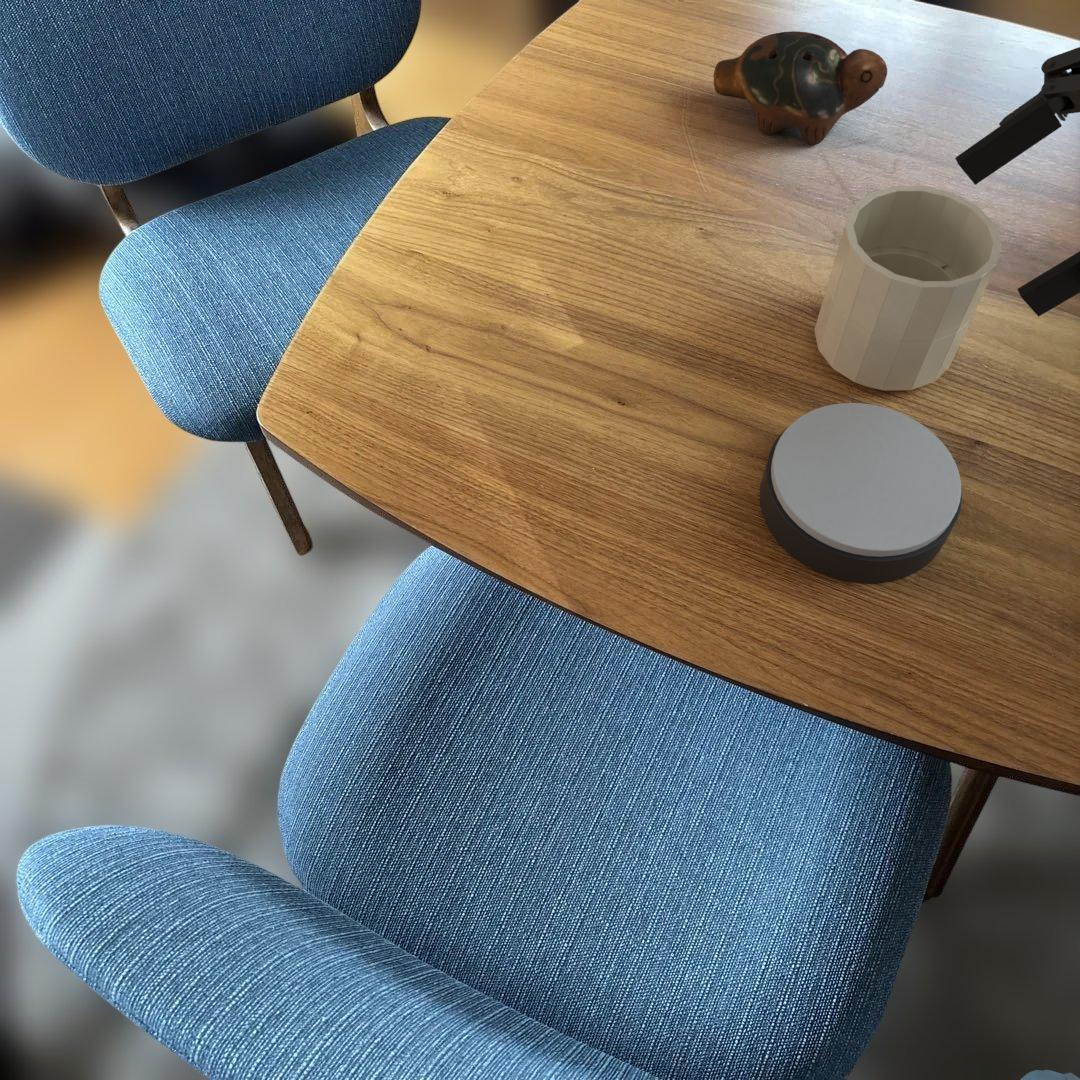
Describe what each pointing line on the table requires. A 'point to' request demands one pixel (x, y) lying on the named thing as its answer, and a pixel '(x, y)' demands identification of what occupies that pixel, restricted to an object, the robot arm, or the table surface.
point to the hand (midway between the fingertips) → (994, 234)
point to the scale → (860, 492)
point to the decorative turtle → (800, 82)
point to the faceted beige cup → (905, 286)
